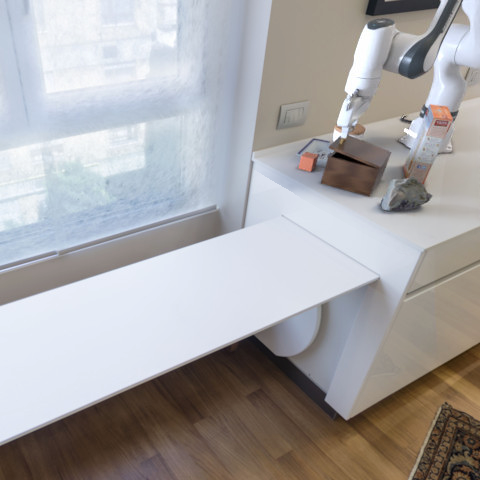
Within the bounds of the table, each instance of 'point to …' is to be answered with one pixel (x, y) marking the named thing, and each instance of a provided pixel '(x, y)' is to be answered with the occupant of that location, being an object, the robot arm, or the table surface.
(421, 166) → the cracker box
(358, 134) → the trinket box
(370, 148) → the lid
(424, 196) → the mineral rock
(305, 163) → the block
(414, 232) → the table surface
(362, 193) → the chest
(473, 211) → the table surface
